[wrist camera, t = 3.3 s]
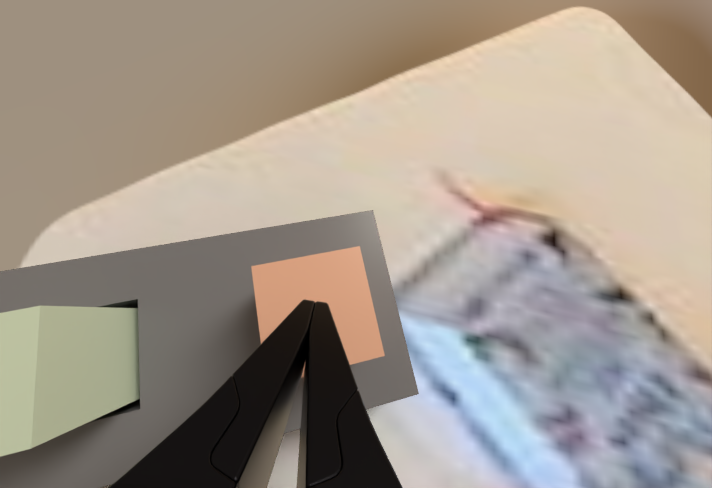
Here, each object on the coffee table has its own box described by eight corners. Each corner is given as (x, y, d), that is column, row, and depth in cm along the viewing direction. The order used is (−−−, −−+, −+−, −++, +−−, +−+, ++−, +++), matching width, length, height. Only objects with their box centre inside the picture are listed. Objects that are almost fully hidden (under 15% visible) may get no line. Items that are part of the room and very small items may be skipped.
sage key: (144, 396, 14) (31, 448, 8) (42, 421, 13) (-153, 496, 8) (142, 308, 15) (40, 305, 9) (47, 327, 14) (-121, 335, 9)
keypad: (395, 373, 19) (418, 394, 14) (65, 464, 16) (-49, 531, 11) (362, 233, 22) (372, 210, 17) (72, 284, 18) (-19, 274, 13)
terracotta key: (364, 341, 16) (384, 355, 10) (287, 360, 15) (266, 386, 10) (348, 267, 17) (359, 246, 11) (275, 281, 16) (251, 266, 11)
